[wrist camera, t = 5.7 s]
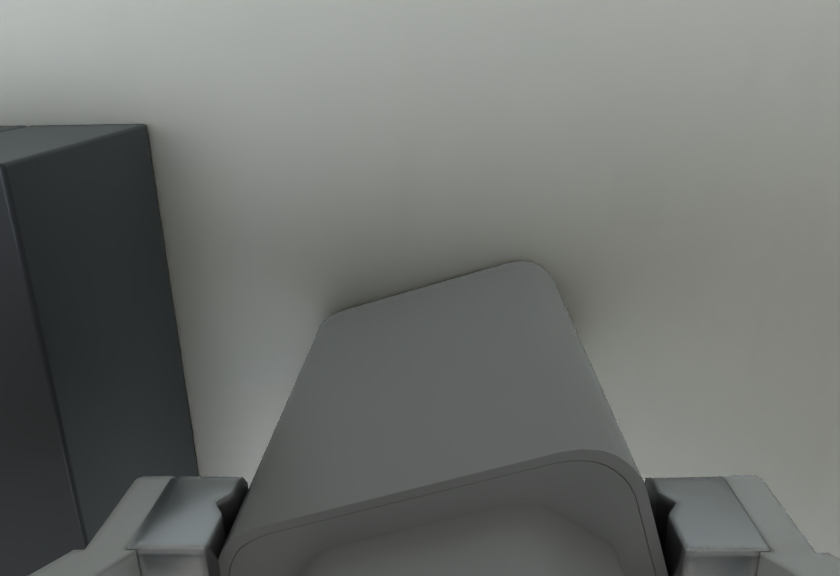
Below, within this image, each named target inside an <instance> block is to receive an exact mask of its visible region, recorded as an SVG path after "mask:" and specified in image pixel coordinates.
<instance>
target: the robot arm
mask: <svg viewBox="0 0 840 576" xmlns="http://www.w3.org/2000/svg"><path fill="white" fill-rule="evenodd" d="M644 484H645V486H646V489H647V493H648V497H649V501H650V505H651V509H652V513H653V517H654V521H655V525H656V529H657V533H658V537H659V541H660V545H661V549H662V553H663V557H664V561H665V565H666V569H667V573H668V576H840V559H838V558H836V557H834V556H833V555H831V554H829V553H816V552H815V550H814V549H813V548H812V546H811V545H810V544H809V542H808V541H807V539H806V538H805V537H804V535H803V534H802V533H801V531H800V530H799V529H798V527H797V526H796V524H795V523H794V522H793V520H792V519H791V518H790V516H789V515H788V514H787V512H786V511H785V509H784V508H783V507H782V505H781V504H780V503H779V501H778V500H777V498H776V497H775V496H774V494H773V493H772V492H771V490H770V489H769V488H768V486H767V485H766V483H765V482H764V481H763V479H762V478H760V477H758V476H756V475H735V476H719V477H676V478H646V480H645V483H644ZM247 492H248V483H247V482H246V481H245V479H244V478H243V477H200V476H176V477H174V476H142V477H140V478H137V479H136V480H135V481H134V482H133V483H132V485H131V486H130V488H129V489H128V490H127V492H126V493H125V494H124V496H123V497H122V499H121V500H120V501H119V503H118V504H117V506H116V507H115V508H114V510H113V511H112V512H111V514H110V515H109V517H108V518H107V519H106V521H105V522H104V523H103V525H102V526H101V528H100V529H99V530H98V532H97V533H96V535H95V536H94V537H93V539H92V540H91V541H90V543H89V544H88V546H87V547H86V548H85V550H72V551H71V552H69V553H67V554H65V555H64V556H62V557H60V558H58V559H57V560H55V561H53V562H51V563H49V564H48V565H46V566H44V567H42V568H41V569H39V570H37V571H35V572H34V573H32V574H30V575H28V576H220V568H219V562H218V559H219V556H220V553H221V551H222V549H223V546H224V544H225V542H226V539H227V537H228V535H229V533H230V530H231V528H232V526H233V524H234V521H235V519H236V517H237V514H238V512H239V510H240V508H241V505H242V503H243V501H244V498H245V496H246V494H247Z"/></svg>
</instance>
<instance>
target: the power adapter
mask: <svg viewBox="0 0 840 576" xmlns="http://www.w3.org/2000/svg"><path fill="white" fill-rule="evenodd" d="M218 562H219V568H220V576H668V573H667V569H666V565H665V561H664V557H663V553H662V549H661V545H660V541H659V537H658V533H657V529H656V525H655V521H654V517H653V513H652V509H651V505H650V501H649V497H648V493H647V489H646V486H645V484H644V482H643V479H642V477H641V475H640V473H639V471H638V468H637V466H636V464H635V462H634V459H633V457H632V455H631V453H630V450H629V448H628V446H627V444H626V441H625V439H624V437H623V435H622V432H621V430H620V428H619V426H618V423H617V421H616V419H615V417H614V414H613V412H612V410H611V408H610V405H609V403H608V401H607V399H606V396H605V394H604V392H603V390H602V388H601V385H600V383H599V381H598V379H597V376H596V374H595V372H594V370H593V367H592V365H591V363H590V361H589V358H588V356H587V354H586V352H585V349H584V347H583V345H582V343H581V340H580V338H579V336H578V334H577V331H576V329H575V327H574V325H573V322H572V320H571V318H570V316H569V314H568V311H567V309H566V307H565V305H564V302H563V300H562V298H561V296H560V293H559V291H558V289H557V287H556V284H555V282H554V280H553V278H552V277H551V275H550V274H549V273H548V272H547V271H546V270H545V269H544V268H543V267H541V266H540V265H538V264H536V263H533V262H530V261H515V262H509V263H505V264H502V265H498V266H495V267H491V268H488V269H485V270H481V271H478V272H474V273H471V274H467V275H464V276H460V277H457V278H453V279H450V280H446V281H443V282H440V283H436V284H433V285H429V286H426V287H422V288H419V289H415V290H412V291H408V292H405V293H402V294H398V295H395V296H391V297H388V298H384V299H381V300H377V301H374V302H370V303H367V304H363V305H360V306H357V307H353V308H350V309H346V310H343V311H340V312H338V313H335V314H333V315H331V316H330V317H329V318H327V319H326V320H324V322H323V323H322V324H321V326H320V328H319V330H318V332H317V334H316V337H315V339H314V341H313V344H312V346H311V348H310V350H309V353H308V355H307V357H306V360H305V362H304V364H303V366H302V369H301V371H300V373H299V375H298V378H297V380H296V382H295V385H294V387H293V389H292V391H291V394H290V396H289V398H288V401H287V403H286V405H285V407H284V410H283V412H282V414H281V416H280V419H279V421H278V423H277V426H276V428H275V430H274V432H273V435H272V437H271V439H270V442H269V444H268V446H267V448H266V451H265V453H264V455H263V457H262V460H261V462H260V464H259V467H258V469H257V471H256V473H255V476H254V478H253V480H252V483H251V485H250V487H249V489H248V492H247V494H246V496H245V498H244V501H243V503H242V505H241V508H240V510H239V512H238V514H237V517H236V519H235V521H234V524H233V526H232V528H231V530H230V533H229V535H228V537H227V539H226V542H225V544H224V546H223V549H222V551H221V553H220V556H219V559H218Z"/></svg>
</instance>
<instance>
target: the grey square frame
mask: <svg viewBox="0 0 840 576" xmlns="http://www.w3.org/2000/svg"><path fill="white" fill-rule="evenodd" d="M142 476H174V477H176V476H198V470H197V464H196V457H195V450H194V444H193V437H192V430H191V423H190V417H189V410H188V403H187V396H186V390H185V383H184V376H183V370H182V363H181V356H180V349H179V343H178V336H177V329H176V323H175V316H174V309H173V302H172V296H171V289H170V282H169V276H168V269H167V262H166V255H165V249H164V242H163V235H162V229H161V222H160V215H159V208H158V202H157V195H156V188H155V181H154V175H153V168H152V161H151V155H150V148H149V141H148V134H147V128H146V125H143V124H107V125H45V126H28V127H27V126H0V576H28V575H30V574H32V573H34V572H35V571H37V570H39V569H41V568H42V567H44V566H46V565H48V564H49V563H51V562H53V561H55V560H57V559H58V558H60V557H62V556H64V555H65V554H67V553H69V552H71V551H72V550H85V548H86V547H87V546H88V544H89V543H90V541H91V540H92V539H93V537H94V536H95V535H96V533H97V532H98V530H99V529H100V528H101V526H102V525H103V523H104V522H105V521H106V519H107V518H108V517H109V515H110V514H111V512H112V511H113V510H114V508H115V507H116V506H117V504H118V503H119V501H120V500H121V499H122V497H123V496H124V494H125V493H126V492H127V490H128V489H129V488H130V486H131V485H132V483H133V482H134V481H135V480H136V479H137V478H140V477H142Z"/></svg>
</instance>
